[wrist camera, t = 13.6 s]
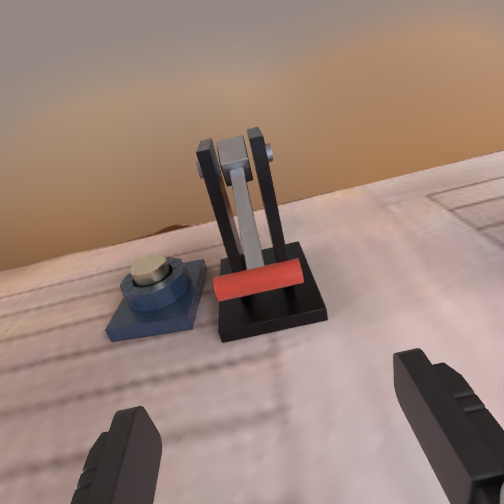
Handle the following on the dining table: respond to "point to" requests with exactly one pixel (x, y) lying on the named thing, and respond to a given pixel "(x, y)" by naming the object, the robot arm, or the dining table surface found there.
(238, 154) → the lever
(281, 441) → the dining table surface
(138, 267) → the button
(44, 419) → the dining table surface
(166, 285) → the box
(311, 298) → the bracket
